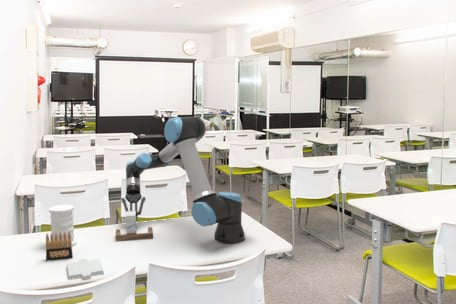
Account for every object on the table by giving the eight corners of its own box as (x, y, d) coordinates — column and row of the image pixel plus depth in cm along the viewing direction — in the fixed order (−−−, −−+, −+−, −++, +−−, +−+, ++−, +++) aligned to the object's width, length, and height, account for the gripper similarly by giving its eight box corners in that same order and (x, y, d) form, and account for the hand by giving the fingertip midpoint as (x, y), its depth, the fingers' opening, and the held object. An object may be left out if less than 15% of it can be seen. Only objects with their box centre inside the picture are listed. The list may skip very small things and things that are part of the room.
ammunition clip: (46, 261, 185) (44, 234, 183) (46, 259, 187) (45, 232, 185) (72, 258, 188) (71, 231, 186) (72, 256, 190) (71, 230, 188)
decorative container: (45, 244, 204) (43, 207, 202) (69, 238, 213) (67, 203, 210) (57, 250, 196) (55, 212, 194) (80, 244, 205) (79, 207, 202)
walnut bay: (153, 238, 213) (153, 233, 213) (115, 241, 209) (115, 236, 209) (152, 231, 224) (152, 226, 223) (116, 233, 220) (116, 229, 220)
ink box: (136, 238, 213) (135, 215, 211) (125, 239, 212) (125, 215, 211) (136, 232, 222) (136, 210, 220) (126, 233, 221) (126, 210, 219)
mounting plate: (66, 265, 181) (66, 261, 181) (98, 261, 186) (98, 256, 186) (69, 283, 165) (69, 278, 165) (104, 277, 170) (104, 272, 170)
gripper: (145, 190, 240) (146, 229, 226) (121, 191, 237) (121, 230, 224) (145, 183, 234) (146, 222, 221) (120, 184, 231) (120, 224, 218)
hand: (134, 226), depth 222 cm, fingers closed
